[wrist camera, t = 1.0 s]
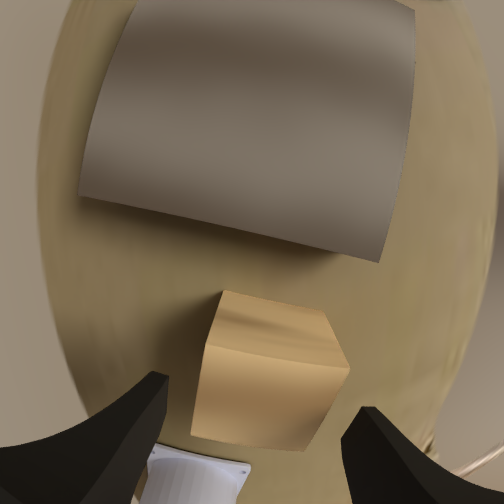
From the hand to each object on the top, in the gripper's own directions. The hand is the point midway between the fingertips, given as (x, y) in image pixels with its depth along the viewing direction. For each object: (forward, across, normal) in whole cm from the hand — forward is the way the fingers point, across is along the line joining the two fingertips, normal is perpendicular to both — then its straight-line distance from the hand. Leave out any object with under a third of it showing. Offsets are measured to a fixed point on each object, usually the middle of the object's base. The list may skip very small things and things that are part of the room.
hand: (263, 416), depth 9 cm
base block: (+5, +3, -12) cm, 13 cm away
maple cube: (+5, 0, 0) cm, 5 cm away
